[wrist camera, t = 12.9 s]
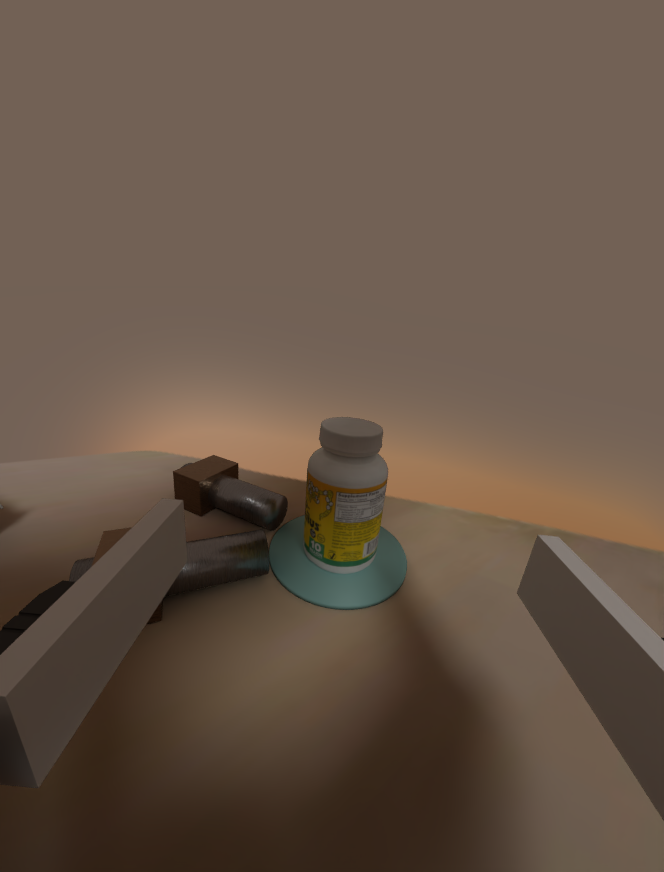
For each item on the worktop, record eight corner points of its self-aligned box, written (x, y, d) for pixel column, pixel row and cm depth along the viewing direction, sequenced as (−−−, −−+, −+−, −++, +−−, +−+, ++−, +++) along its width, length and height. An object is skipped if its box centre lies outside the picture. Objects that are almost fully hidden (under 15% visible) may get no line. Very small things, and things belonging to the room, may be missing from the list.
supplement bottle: (385, 574, 22) (408, 441, 19) (305, 579, 21) (315, 439, 18) (364, 526, 27) (380, 415, 24) (299, 528, 26) (306, 412, 23)
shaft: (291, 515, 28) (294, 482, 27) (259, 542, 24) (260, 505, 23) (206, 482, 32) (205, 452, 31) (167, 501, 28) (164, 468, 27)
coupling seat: (394, 520, 29) (395, 517, 29) (420, 617, 19) (421, 613, 19) (282, 509, 29) (282, 506, 28) (252, 601, 19) (252, 597, 19)
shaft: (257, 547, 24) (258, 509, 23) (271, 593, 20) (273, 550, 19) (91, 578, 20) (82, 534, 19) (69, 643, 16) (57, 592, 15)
